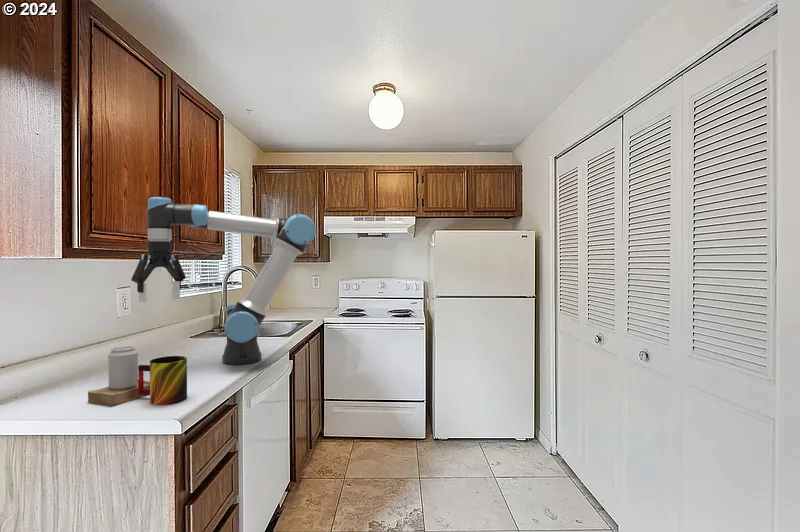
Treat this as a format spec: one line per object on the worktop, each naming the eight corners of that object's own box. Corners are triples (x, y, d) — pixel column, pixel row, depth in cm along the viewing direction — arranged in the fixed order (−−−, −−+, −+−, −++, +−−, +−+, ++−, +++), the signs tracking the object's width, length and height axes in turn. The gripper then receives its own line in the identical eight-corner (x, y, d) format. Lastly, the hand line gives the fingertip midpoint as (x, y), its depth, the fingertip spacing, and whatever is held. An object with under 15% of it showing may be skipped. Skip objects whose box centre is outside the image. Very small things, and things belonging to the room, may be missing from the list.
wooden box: (133, 389, 140) (133, 378, 140) (156, 392, 136) (155, 382, 136) (88, 402, 127) (87, 391, 126) (112, 406, 123) (111, 395, 123)
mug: (139, 397, 131) (138, 357, 131) (189, 393, 135) (189, 355, 135) (129, 408, 122) (128, 365, 122) (183, 403, 126) (183, 362, 126)
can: (123, 391, 127) (123, 350, 127) (102, 390, 128) (101, 349, 128) (143, 384, 134) (143, 345, 134) (123, 383, 136) (122, 344, 136)
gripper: (180, 242, 169) (181, 297, 170) (118, 239, 146) (119, 303, 146) (195, 242, 167) (196, 297, 167) (134, 239, 143) (135, 304, 144)
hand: (160, 300), depth 157 cm, fingers open, 13 cm apart
